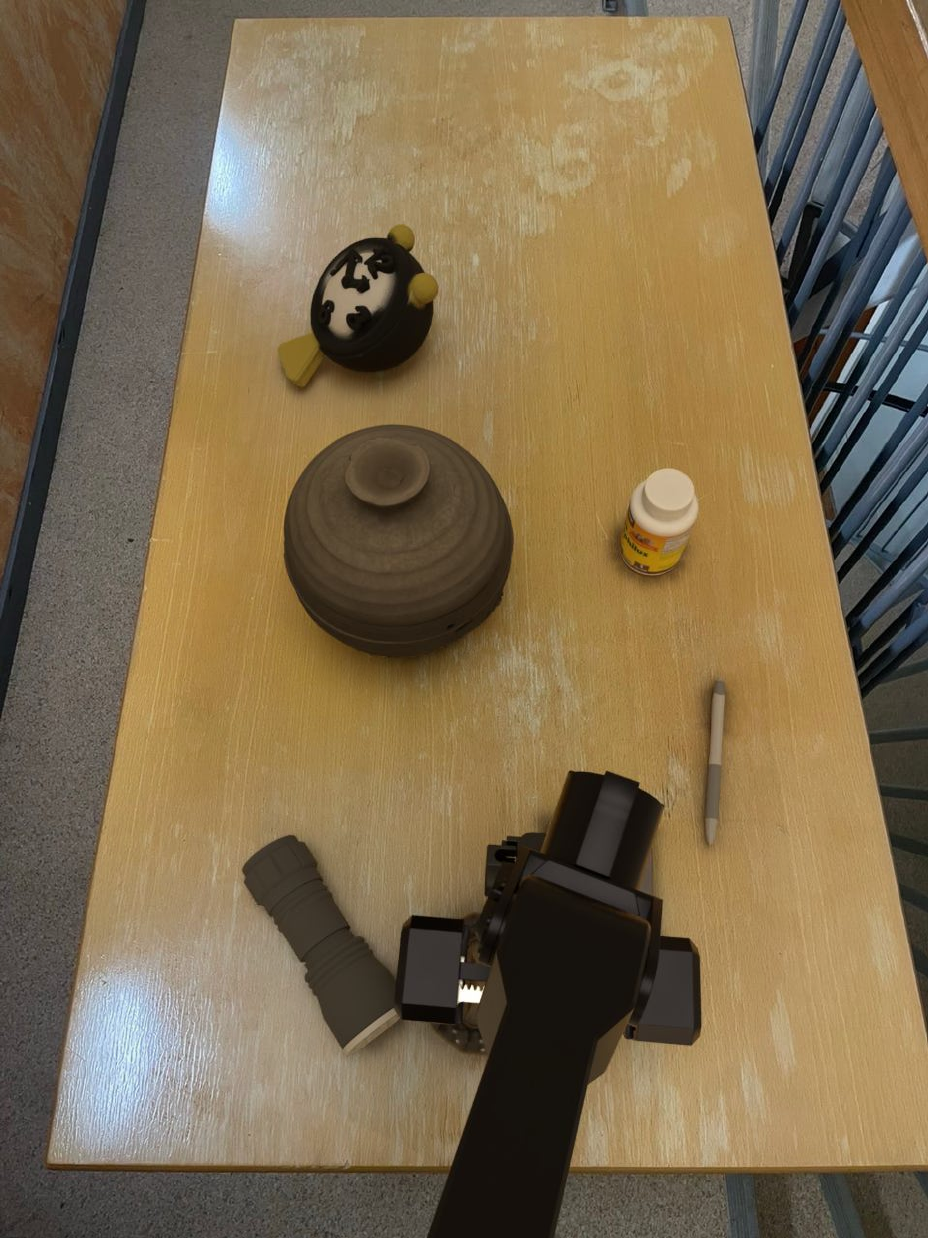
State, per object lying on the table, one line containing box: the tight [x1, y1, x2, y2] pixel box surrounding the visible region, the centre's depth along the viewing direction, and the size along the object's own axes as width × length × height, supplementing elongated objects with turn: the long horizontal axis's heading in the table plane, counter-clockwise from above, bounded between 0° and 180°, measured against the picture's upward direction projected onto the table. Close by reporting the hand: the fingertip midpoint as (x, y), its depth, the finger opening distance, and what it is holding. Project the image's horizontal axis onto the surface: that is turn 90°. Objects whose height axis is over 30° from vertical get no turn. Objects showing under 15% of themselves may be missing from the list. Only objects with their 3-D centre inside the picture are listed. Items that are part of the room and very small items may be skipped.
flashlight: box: [241, 834, 401, 1057], centre depth 66 cm, size 15×5×5 cm, turn 36°
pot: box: [283, 423, 515, 659], centre depth 72 cm, size 18×18×20 cm
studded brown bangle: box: [429, 911, 488, 1057], centre depth 66 cm, size 10×10×2 cm
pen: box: [704, 676, 726, 847], centre depth 73 cm, size 1×14×1 cm, turn 170°
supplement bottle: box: [618, 467, 700, 576], centre depth 77 cm, size 6×6×10 cm
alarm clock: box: [277, 223, 440, 388], centre depth 88 cm, size 12×15×15 cm
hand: (540, 986), depth 65 cm, fingers open, 9 cm apart
